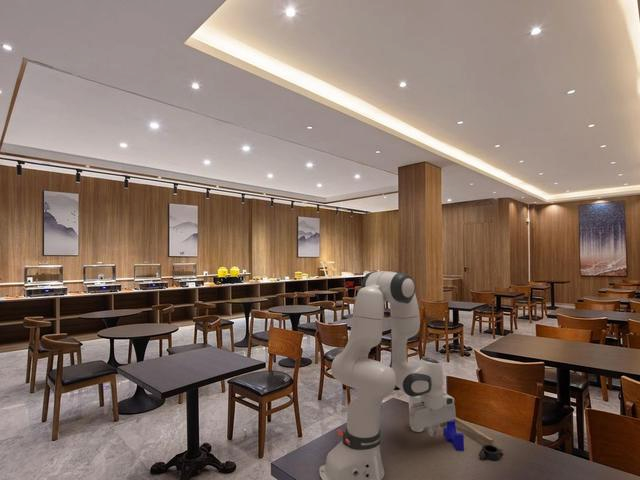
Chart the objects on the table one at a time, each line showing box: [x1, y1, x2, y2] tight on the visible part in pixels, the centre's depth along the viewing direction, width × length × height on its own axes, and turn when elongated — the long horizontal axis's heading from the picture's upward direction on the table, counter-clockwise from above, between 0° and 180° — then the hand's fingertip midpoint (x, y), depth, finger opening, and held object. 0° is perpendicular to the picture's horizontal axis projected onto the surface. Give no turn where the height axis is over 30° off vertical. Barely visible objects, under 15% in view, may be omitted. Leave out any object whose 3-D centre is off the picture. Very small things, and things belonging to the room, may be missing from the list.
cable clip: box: [442, 420, 465, 452], centre depth 141 cm, size 12×4×6 cm, turn 176°
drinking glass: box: [408, 395, 425, 433], centre depth 152 cm, size 7×7×15 cm
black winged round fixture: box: [478, 445, 504, 462], centre depth 131 cm, size 8×10×3 cm
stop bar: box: [440, 416, 495, 447], centre depth 145 cm, size 6×24×4 cm, turn 21°
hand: (433, 435), depth 140 cm, fingers closed
